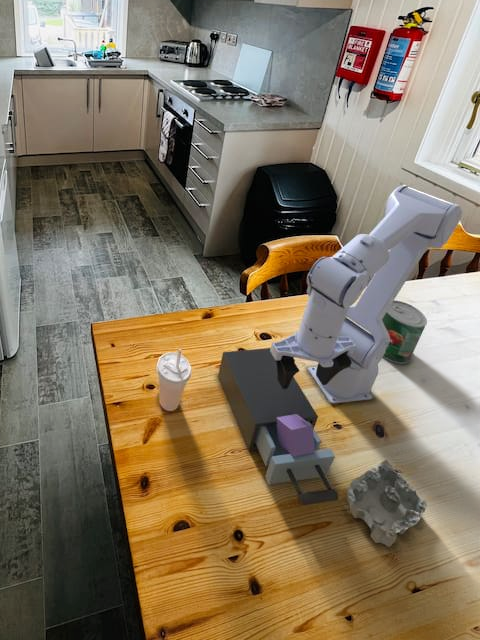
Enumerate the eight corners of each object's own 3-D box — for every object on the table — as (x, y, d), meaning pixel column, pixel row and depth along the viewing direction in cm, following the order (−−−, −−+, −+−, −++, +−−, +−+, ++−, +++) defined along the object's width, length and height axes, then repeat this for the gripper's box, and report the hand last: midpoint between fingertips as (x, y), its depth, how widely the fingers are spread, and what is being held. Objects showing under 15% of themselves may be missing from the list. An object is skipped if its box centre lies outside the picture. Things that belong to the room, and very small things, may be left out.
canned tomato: (416, 354, 91) (433, 317, 86) (401, 369, 87) (418, 332, 82) (379, 330, 97) (394, 295, 92) (364, 344, 92) (378, 308, 88)
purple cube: (298, 438, 67) (296, 413, 68) (315, 452, 63) (313, 425, 64) (278, 442, 66) (276, 417, 67) (293, 457, 62) (291, 429, 63)
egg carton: (382, 555, 57) (391, 540, 55) (337, 498, 63) (344, 483, 62) (426, 520, 61) (436, 504, 60) (380, 470, 67) (387, 455, 66)
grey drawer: (345, 510, 61) (355, 490, 59) (283, 520, 59) (291, 499, 57) (284, 399, 78) (290, 380, 76) (234, 404, 76) (239, 385, 74)
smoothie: (184, 421, 73) (194, 367, 68) (150, 413, 74) (157, 360, 69) (186, 390, 79) (195, 338, 74) (154, 383, 80) (161, 332, 75)
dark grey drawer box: (308, 442, 71) (318, 416, 68) (248, 450, 69) (255, 424, 66) (269, 371, 84) (275, 347, 82) (217, 376, 82) (222, 352, 80)
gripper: (294, 347, 61) (275, 407, 66) (377, 340, 63) (353, 399, 68) (271, 313, 67) (256, 370, 72) (347, 308, 69) (327, 364, 75)
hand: (301, 382), depth 71 cm, fingers open, 7 cm apart
